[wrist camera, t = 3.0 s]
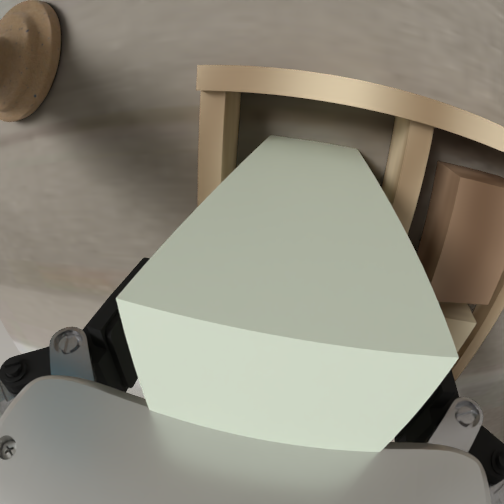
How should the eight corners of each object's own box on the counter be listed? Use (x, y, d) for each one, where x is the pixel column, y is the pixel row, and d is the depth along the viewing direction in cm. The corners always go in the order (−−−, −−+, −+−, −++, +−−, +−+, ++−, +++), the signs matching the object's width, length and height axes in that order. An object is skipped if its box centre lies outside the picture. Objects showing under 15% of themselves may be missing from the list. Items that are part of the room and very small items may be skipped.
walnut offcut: (498, 175, 12) (527, 194, 9) (469, 273, 15) (487, 304, 12) (436, 159, 12) (460, 177, 10) (411, 266, 15) (424, 300, 13)
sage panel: (357, 148, 13) (459, 357, 3) (315, 329, 19) (290, 523, 8) (270, 135, 14) (116, 298, 3) (252, 318, 19) (191, 504, 9)
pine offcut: (460, 290, 15) (476, 323, 13) (426, 348, 18) (435, 381, 15) (405, 278, 16) (417, 313, 13) (375, 340, 18) (379, 376, 16)
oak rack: (545, 151, 10) (577, 168, 7) (444, 374, 19) (451, 406, 16) (221, 69, 12) (197, 65, 10) (213, 342, 21) (200, 375, 18)
